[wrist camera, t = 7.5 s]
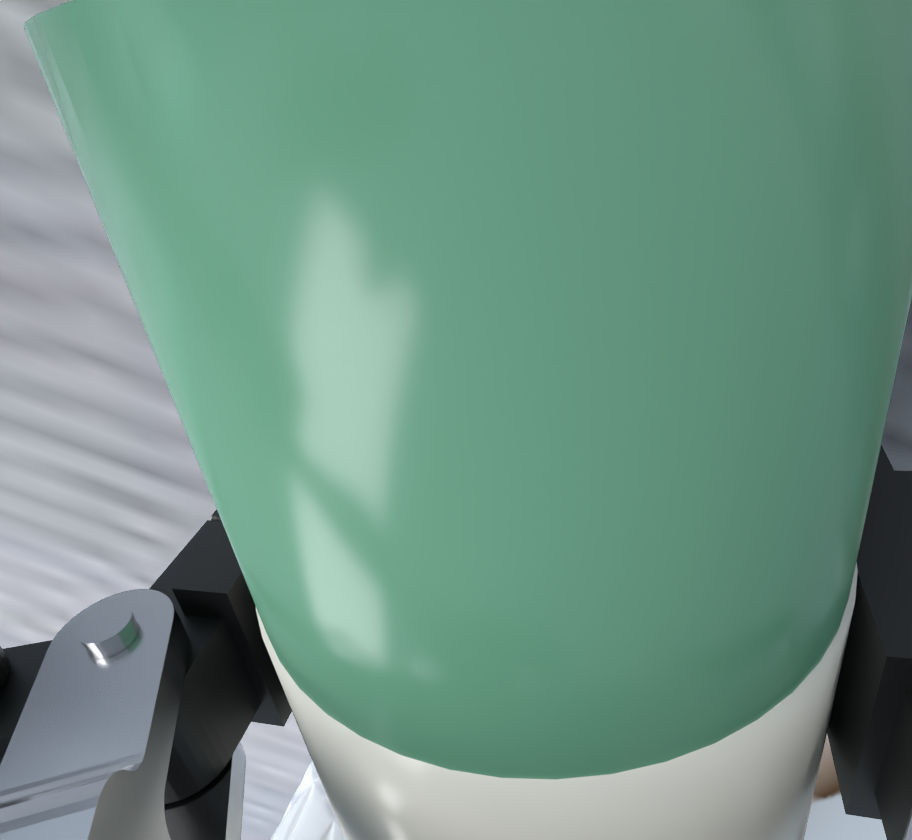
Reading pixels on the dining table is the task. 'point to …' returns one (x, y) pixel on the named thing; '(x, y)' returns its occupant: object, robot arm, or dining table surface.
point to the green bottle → (523, 375)
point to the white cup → (309, 813)
